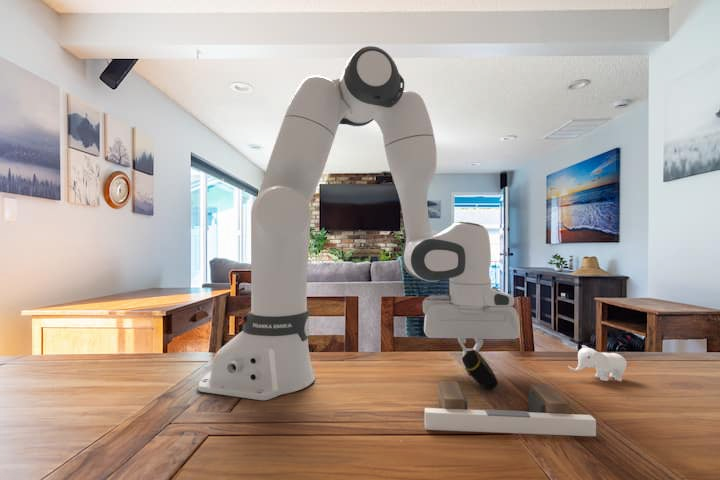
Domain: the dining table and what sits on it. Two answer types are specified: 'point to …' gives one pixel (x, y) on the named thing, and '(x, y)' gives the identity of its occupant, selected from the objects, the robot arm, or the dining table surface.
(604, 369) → the elephant figurine
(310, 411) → the dining table surface
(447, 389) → the rail
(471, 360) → the tape measure
